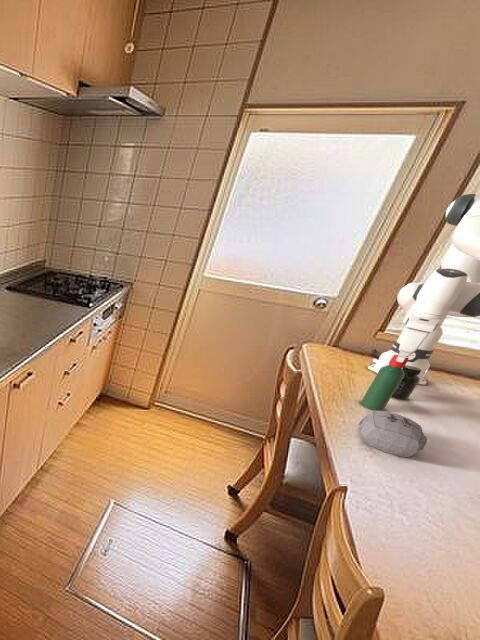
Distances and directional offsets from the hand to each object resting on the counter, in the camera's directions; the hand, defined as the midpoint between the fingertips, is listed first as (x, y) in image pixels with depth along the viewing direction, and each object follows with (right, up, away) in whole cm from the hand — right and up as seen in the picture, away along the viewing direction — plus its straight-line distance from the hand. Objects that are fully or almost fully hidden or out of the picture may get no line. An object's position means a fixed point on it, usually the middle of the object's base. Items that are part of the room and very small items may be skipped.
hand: (399, 359), depth 142 cm
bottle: (-1, -17, +9) cm, 19 cm away
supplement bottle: (+17, -13, +18) cm, 28 cm away
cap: (0, -2, +1) cm, 2 cm away
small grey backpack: (-17, -26, -12) cm, 33 cm away
